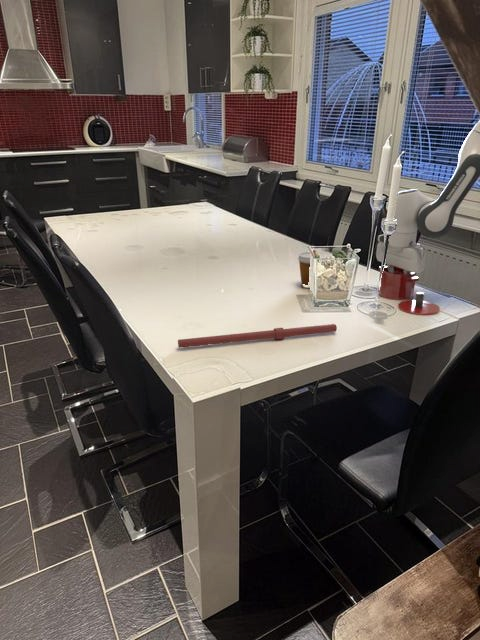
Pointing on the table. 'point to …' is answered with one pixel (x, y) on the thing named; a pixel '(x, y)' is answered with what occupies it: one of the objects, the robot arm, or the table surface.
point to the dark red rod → (257, 335)
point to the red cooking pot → (397, 284)
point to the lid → (419, 306)
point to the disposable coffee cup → (304, 267)
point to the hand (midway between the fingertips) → (397, 279)
